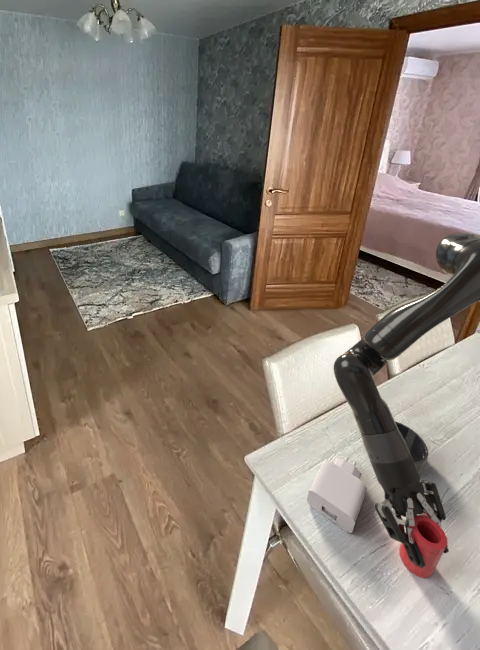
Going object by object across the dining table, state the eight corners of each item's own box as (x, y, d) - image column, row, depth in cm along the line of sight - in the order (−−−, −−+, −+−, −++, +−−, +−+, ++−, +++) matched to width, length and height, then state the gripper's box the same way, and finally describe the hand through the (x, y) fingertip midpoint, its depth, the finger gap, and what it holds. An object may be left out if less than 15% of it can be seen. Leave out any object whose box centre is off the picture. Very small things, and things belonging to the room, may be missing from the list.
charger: (370, 479, 80) (351, 535, 69) (329, 454, 85) (306, 503, 75) (375, 465, 78) (355, 520, 67) (333, 440, 84) (309, 488, 73)
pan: (409, 435, 90) (414, 423, 89) (433, 481, 79) (438, 468, 78) (360, 428, 92) (364, 416, 91) (377, 472, 81) (381, 459, 80)
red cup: (424, 546, 68) (437, 517, 64) (438, 581, 63) (454, 552, 59) (394, 540, 68) (406, 512, 65) (406, 574, 64) (419, 545, 60)
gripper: (376, 470, 63) (422, 586, 57) (430, 444, 67) (478, 549, 61) (347, 463, 69) (386, 567, 63) (399, 441, 74) (439, 535, 68)
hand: (431, 557), depth 62 cm, fingers closed on red cup, 5 cm apart
